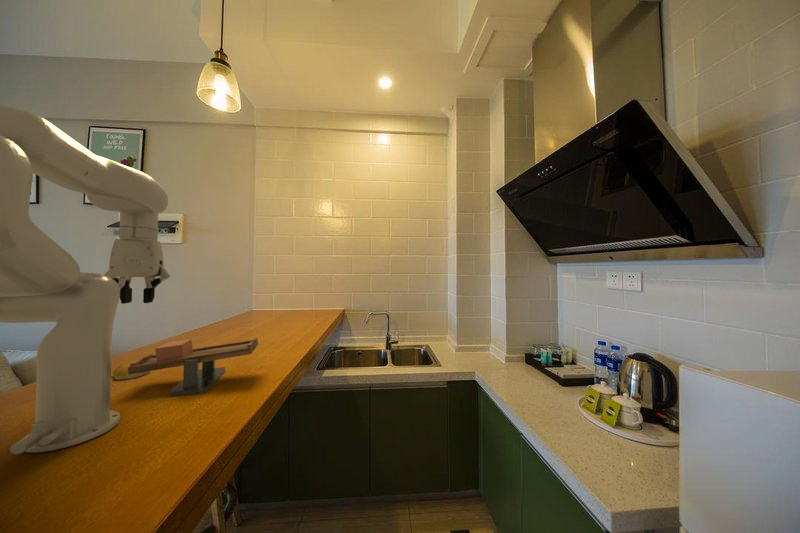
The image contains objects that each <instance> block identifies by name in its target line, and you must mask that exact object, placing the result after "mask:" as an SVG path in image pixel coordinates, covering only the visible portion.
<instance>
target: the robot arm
mask: <svg viewBox="0 0 800 533" xmlns="http://www.w3.org/2000/svg"><path fill="white" fill-rule="evenodd" d="M34 175H36V176H38V177H40V178H43V179H45V180H47V181H49V182H51V183H53V184H54V185H57V186H59V187H60V188H63V189H65V190H69V191H73V192H77V193H82V194H85V195H86V198H87V200H88V201H89V203H90V204H92V205H93V206H95V207H96V208H98V209H101V210H103V211H108V212H118V213H119V227H118V229H114V230H113V235H114V236H117V237H118V238H119V239H118V238H115V239H114V241H113V244H112V247H111V252H110V255H109V263H108V270H107V271H106V272H105V273H104V274H101V273H97V272H84V271H83V272H81V270H80V266H79V263H78V262H77V261H76V259H75V258H74V257H73V256H72V255H71V254H70V253H69V252H68V251H66V249H64V248H63V247H61V246H60V245H59V244H58V243H57V242H56V241H54V240H53V238H51V237H50V236H49V235H48V234H46V233H45V232H44V231H43V230H42V229H40V228H39V226H37V225H36V224H35V222H33V220H32V219H31V216H30V203H31V201H30V200H31V194H32V193H31V192H32V187H33V178H34ZM168 205H169V198H168V194H167V192H166V191H165V189H164V187H162V185H161V184H160V183H159V182H158V181H157V180H156V179H154V178H153V177H151V176H150V175H148V174H146V173H144V172H143V171H140V170H138V169H135V168H133V167H130V166H127V165H124V164H122V163H119V162H117V161H114V160H112V159H109V158H107V157H103V156H100V155H97V154H95V153H94V152H93V151H91V150H90V149H88V148H87V147H85V146H84V145H83V144H81V143H80V142H79V141H77V140H75V139H74V138H73V137H71V136H70V135H68V134H67V133H66V132H64V131H63V130H62V129H60V128H59V127H57V126H56V125H55V124H53V123H52V122H50V121H49V120H47V118H44V117H41V116H40V115H38V114H36V113H33V112H32V111H29V110H26V109H22V108H17V107H14V106H13V107H12V106H8V105H3V104H0V323H4V324H23V323H24V324H25V323H27V324H28V323H47V322H48V323H56V324H55V326H54V327H53V328H52V329H51V330H50V331H49V332H48V333H47V334H46V335H45V336H44V337H43V339H42V340H41V341H40V343H39V345H38V347H37V351H36V379H35V380H36V384H35V385H36V387H35V416H34V418H35V420H34V422H35V423H33V424H31V431H30V432H29V433H28V434H26V435H24V437H23V438H22V439H20V440H19V441H17V442H15V443H14V444H12V445H11V446H10V448H9V452H10V453H11V454H13V455H20V454H22V453H24V452H25V453H36V454H37V453H45V452H50V451H51V452H53V451H55V450H62V449H64V448H69V447H73V446H75V445H78V444H81V443H83V442H87V441H90V440H92V439H94V438H96V437H99V436H101V435H103V434H105V433H107V432H108V431H111V430H112V429H113V428H114V427H115V426H117V425H118V424H119V423H120V421H121V414H120V412H119V411H117V410H111V390H112V388H111V386H112V385H111V384H112V379H111V378H112V354H113V353H112V350H113V349H112V348H113V345H112V344H113V331H114V330H113V328H114V321H115V317H116V316H115V315H116V312H117V308H118V305H119V302H120V304H123V305H125V304H129V303H132V302H133V288H132V287H130V285H131V283H132V282H131V281H132V279H133V278H144V282H145V287H144V288H143V291H142V292H143V293H142V294H143V298H142V302H143V304H151V303H153V301H154V300H155V296H156V295H155V294H156V293H155V290H156V288H157V287H158V285H160V284H161V283H163V282H164V281H166V280H168V279H169V278H170V277H171V274H169V272H168V270H166V269H165V264H164V263H165V262H164V254H163V253H164V252H163V248H162V244H161V241H159V240H158V239H159V238H158V236H159V234H158V233H159V231H158V230H159V214H161V213H163V212H164V211H166V210H167V207H168Z"/></svg>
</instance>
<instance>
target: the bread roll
mask: <svg viewBox="0 0 800 533" xmlns="http://www.w3.org/2000/svg"><path fill="white" fill-rule="evenodd" d="M137 360H138V359H137ZM137 360H128V361H125V362H122V363H121V364H119V365H118V366H116V367H115V368H114V369H113V371H112V376H113V378H114V380H117V381H122V380H131V379H137V378H140V377H143V376H144V375H145V376H146V375H147V374H149V373H150V372H151V371H147V372H141V373H135V374H129V373H128V367H130V364H131V363H133V362H135V361H137Z"/></svg>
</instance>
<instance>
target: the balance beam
mask: <svg viewBox="0 0 800 533" xmlns="http://www.w3.org/2000/svg"><path fill="white" fill-rule="evenodd" d="M258 346H259V340H258V338H257V337H256V338H255V337H254V338H251V339H250V340H249V339H248V340H242V341H237V342H236V341H235V342H231V343H224V344H217V345H211V346H210V345H209V346H203V347H197V348H193V353H192V354H190V355H189V356H187V357H185V358H179V359H173V360H166V361H160V362H157V360H156V354H153V353H150V354H147V355H144V356H143V357H141V358H139V359H137V361H135V362H133V363H131V364H130V367H128V373H129V374H135V373H141V372H147V371H150V372H153V371H159V370H163V369H170V368H176V367H181V366H182V367H184V361H185V360H192V359H199V364H201V363H202V362H207V361H213V360H215V361H217V360H223V359H230V358H231V359H232V358H236V357H242V356H248V355H252V354H253V352H254V351H255V350H256V348H257V347H258Z"/></svg>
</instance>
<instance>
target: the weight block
mask: <svg viewBox="0 0 800 533" xmlns="http://www.w3.org/2000/svg"><path fill="white" fill-rule="evenodd" d="M192 340H193V339H192V338H189V339H183V340H176V341H175V340H174V341H169V342H166V343H163V344H161V345H159V346H158V347H155V348H154V350H155V355H156V360H157V362H160V361H166V360H173V359H179V358H185V357H187V356H189V355H190V354H192V353H193V349H194V348H193V341H192Z"/></svg>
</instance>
